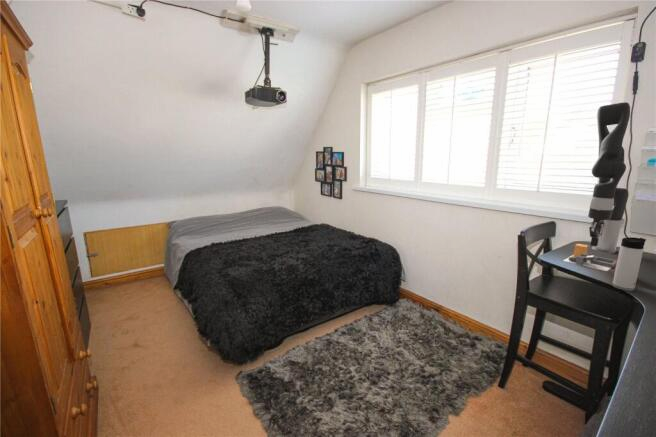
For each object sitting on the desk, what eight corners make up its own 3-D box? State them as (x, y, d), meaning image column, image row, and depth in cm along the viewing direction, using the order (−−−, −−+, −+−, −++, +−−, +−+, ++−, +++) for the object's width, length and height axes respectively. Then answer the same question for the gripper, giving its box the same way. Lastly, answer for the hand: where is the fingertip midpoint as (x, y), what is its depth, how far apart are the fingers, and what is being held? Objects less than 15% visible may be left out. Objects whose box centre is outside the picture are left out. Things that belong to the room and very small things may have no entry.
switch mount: (580, 260, 146) (581, 253, 145) (586, 261, 144) (587, 255, 143) (575, 263, 142) (576, 256, 142) (581, 264, 140) (583, 257, 140)
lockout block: (576, 255, 153) (578, 243, 152) (586, 257, 150) (588, 245, 149) (573, 256, 151) (575, 245, 149) (583, 259, 148) (585, 247, 146)
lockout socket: (595, 259, 147) (596, 256, 147) (617, 264, 141) (618, 260, 141) (590, 262, 143) (590, 259, 143) (612, 268, 137) (613, 264, 136)
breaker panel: (573, 256, 155) (574, 253, 154) (616, 265, 142) (616, 262, 142) (562, 263, 146) (563, 259, 146) (606, 273, 134) (607, 269, 133)
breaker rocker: (572, 258, 147) (571, 256, 148) (595, 258, 140) (595, 255, 140) (568, 260, 145) (568, 257, 145) (593, 260, 138) (592, 257, 138)
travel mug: (639, 291, 117) (651, 241, 112) (619, 290, 118) (630, 240, 114) (627, 284, 123) (638, 236, 118) (608, 283, 124) (618, 235, 120)
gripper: (595, 204, 141) (588, 241, 145) (585, 208, 134) (578, 246, 138) (616, 207, 135) (609, 245, 139) (607, 210, 128) (599, 250, 132)
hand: (593, 245), depth 138 cm, fingers closed
